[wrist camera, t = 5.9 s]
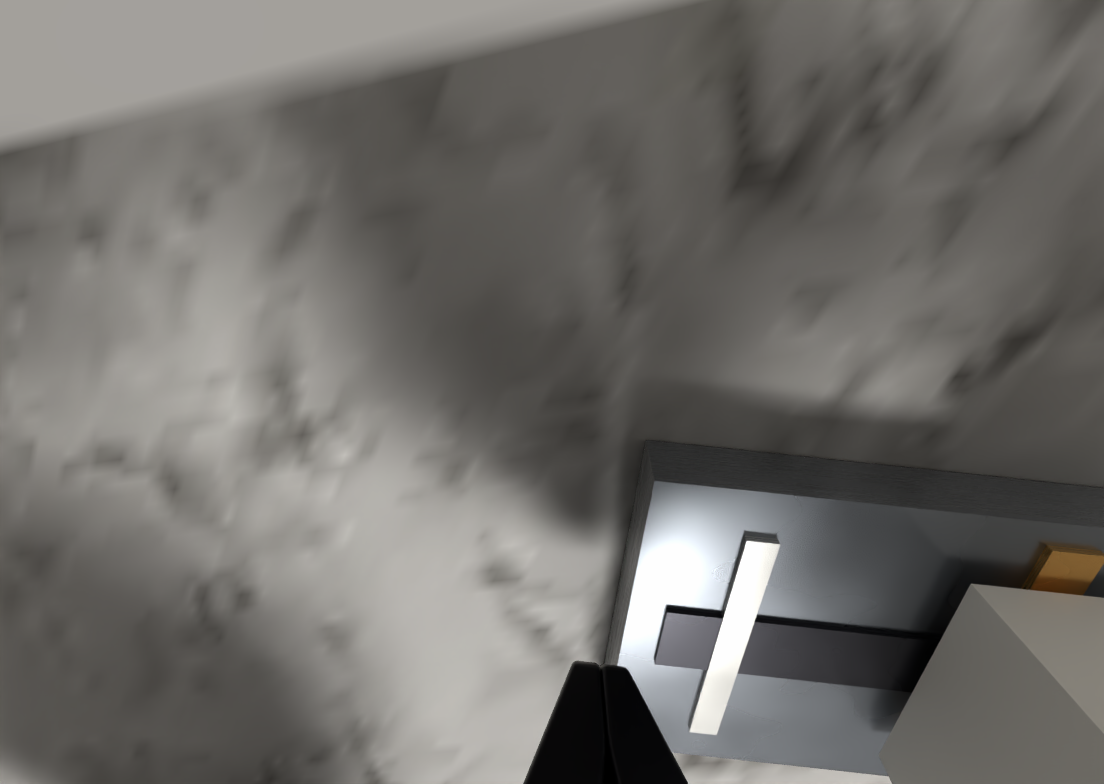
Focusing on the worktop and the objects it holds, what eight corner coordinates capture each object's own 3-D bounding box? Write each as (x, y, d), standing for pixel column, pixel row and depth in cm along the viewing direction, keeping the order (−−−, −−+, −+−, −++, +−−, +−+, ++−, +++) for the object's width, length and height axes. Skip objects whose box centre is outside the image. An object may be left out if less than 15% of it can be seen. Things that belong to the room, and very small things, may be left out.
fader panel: (599, 687, 11) (601, 750, 10) (645, 439, 9) (654, 485, 8) (980, 729, 11) (1027, 798, 10) (1133, 491, 9) (1218, 545, 8)
